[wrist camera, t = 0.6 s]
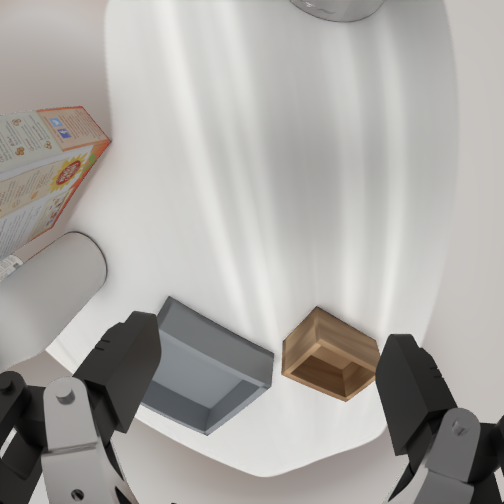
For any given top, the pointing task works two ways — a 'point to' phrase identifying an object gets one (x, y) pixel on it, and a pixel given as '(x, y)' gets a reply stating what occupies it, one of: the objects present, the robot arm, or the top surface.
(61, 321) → the milk bottle
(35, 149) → the cracker box
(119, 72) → the top surface
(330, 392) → the wood crate
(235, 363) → the grey bin
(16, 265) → the cosmetic set
